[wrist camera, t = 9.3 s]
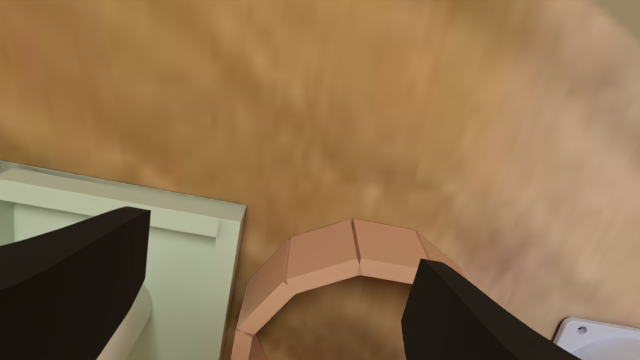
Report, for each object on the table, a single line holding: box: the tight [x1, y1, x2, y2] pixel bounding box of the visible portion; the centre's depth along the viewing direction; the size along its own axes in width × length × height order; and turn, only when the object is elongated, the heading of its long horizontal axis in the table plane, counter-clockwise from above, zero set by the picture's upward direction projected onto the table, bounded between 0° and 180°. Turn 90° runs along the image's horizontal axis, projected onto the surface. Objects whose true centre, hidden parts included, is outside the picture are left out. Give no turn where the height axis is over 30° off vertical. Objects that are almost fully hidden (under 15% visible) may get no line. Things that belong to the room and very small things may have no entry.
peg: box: [97, 284, 152, 360], centre depth 20 cm, size 4×4×7 cm
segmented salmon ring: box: [231, 219, 466, 360], centre depth 23 cm, size 13×13×4 cm
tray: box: [0, 160, 247, 360], centre depth 23 cm, size 12×13×2 cm
